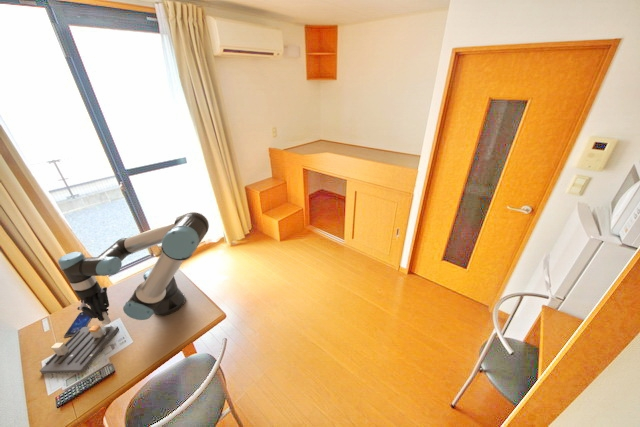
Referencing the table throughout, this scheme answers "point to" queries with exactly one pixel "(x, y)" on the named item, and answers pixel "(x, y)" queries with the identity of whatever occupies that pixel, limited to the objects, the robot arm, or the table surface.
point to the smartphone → (78, 324)
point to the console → (79, 351)
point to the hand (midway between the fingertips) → (106, 322)
